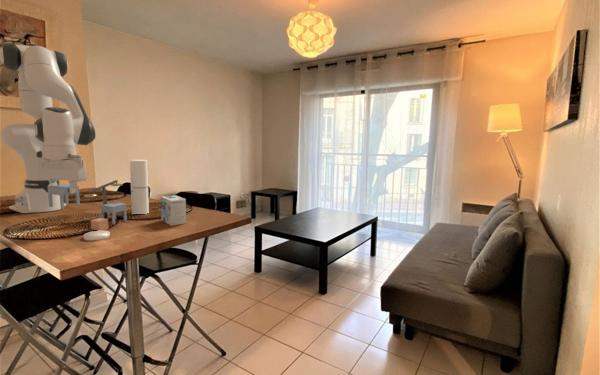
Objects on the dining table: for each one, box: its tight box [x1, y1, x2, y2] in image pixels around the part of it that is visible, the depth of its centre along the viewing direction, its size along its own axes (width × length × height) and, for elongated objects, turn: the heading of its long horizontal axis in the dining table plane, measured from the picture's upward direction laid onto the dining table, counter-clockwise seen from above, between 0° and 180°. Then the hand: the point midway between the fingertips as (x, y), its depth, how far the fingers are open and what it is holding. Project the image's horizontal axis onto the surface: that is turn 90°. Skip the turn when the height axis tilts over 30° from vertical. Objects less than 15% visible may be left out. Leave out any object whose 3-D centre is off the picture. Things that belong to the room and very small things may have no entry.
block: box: [90, 218, 109, 231], centre depth 120 cm, size 4×4×4 cm
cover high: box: [100, 201, 128, 225], centre depth 130 cm, size 6×6×8 cm
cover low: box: [47, 183, 81, 210], centre depth 114 cm, size 6×6×8 cm
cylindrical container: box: [129, 159, 150, 215], centre depth 145 cm, size 7×7×25 cm
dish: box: [82, 230, 111, 242], centre depth 112 cm, size 8×8×1 cm
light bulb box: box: [160, 194, 187, 226], centre depth 134 cm, size 11×7×11 cm, turn 45°
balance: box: [83, 179, 123, 221], centre depth 134 cm, size 6×17×16 cm, turn 162°
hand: (63, 191), depth 114 cm, fingers closed on cover low, 6 cm apart
